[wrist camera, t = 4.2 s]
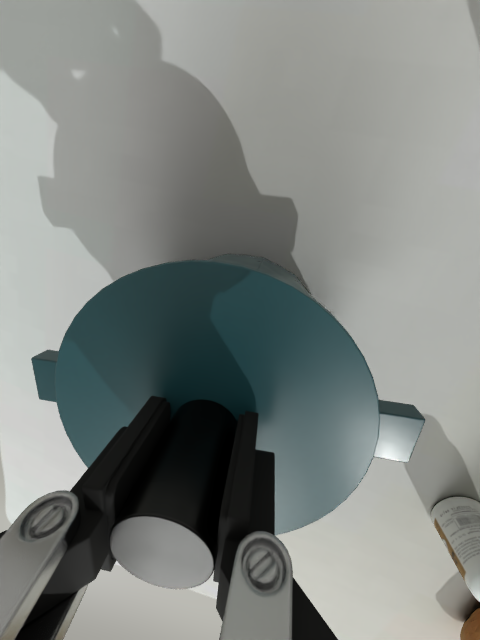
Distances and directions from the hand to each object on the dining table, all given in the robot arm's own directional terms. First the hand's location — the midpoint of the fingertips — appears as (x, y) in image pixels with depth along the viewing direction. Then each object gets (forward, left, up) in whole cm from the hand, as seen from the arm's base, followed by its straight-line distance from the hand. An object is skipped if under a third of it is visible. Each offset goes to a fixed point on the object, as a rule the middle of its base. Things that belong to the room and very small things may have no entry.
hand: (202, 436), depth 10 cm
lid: (0, 0, -1) cm, 1 cm away
